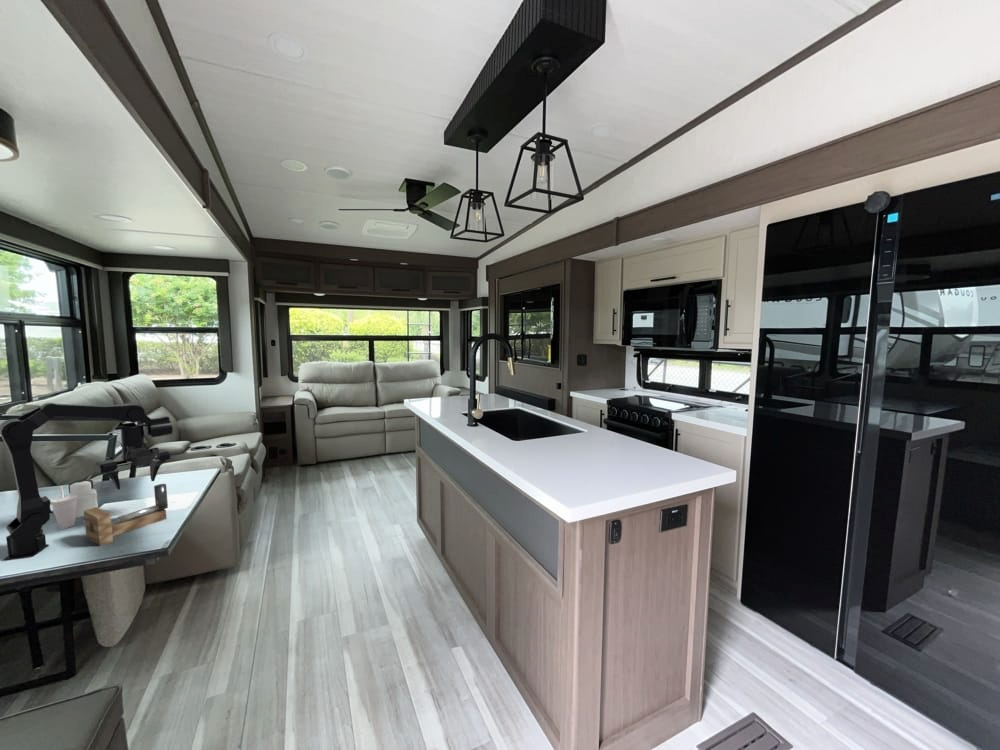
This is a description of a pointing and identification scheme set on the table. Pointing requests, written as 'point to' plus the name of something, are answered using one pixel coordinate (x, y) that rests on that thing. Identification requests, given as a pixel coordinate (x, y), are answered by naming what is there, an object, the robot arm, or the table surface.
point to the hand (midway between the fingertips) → (136, 485)
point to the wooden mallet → (102, 529)
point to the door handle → (160, 505)
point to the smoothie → (65, 509)
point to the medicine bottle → (83, 496)
